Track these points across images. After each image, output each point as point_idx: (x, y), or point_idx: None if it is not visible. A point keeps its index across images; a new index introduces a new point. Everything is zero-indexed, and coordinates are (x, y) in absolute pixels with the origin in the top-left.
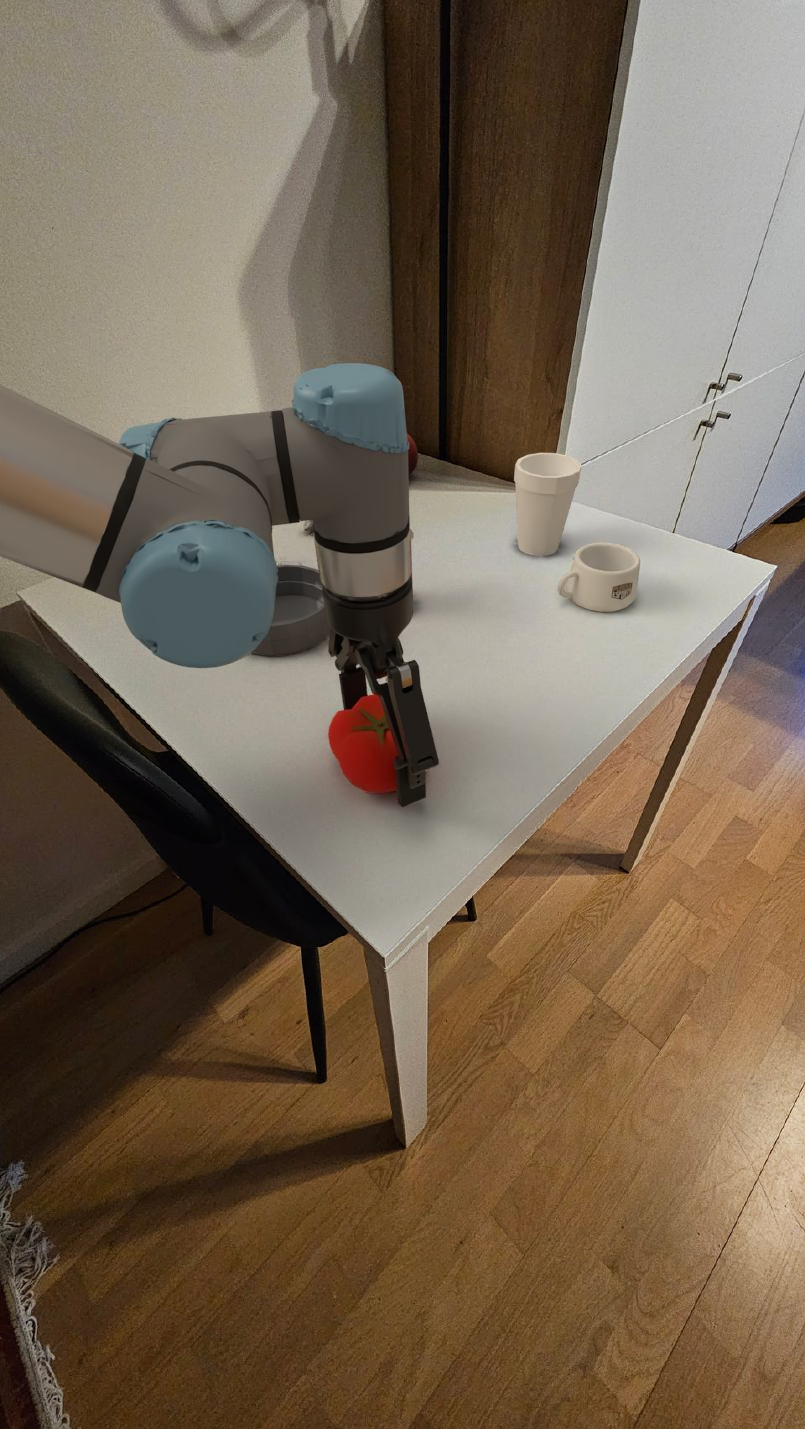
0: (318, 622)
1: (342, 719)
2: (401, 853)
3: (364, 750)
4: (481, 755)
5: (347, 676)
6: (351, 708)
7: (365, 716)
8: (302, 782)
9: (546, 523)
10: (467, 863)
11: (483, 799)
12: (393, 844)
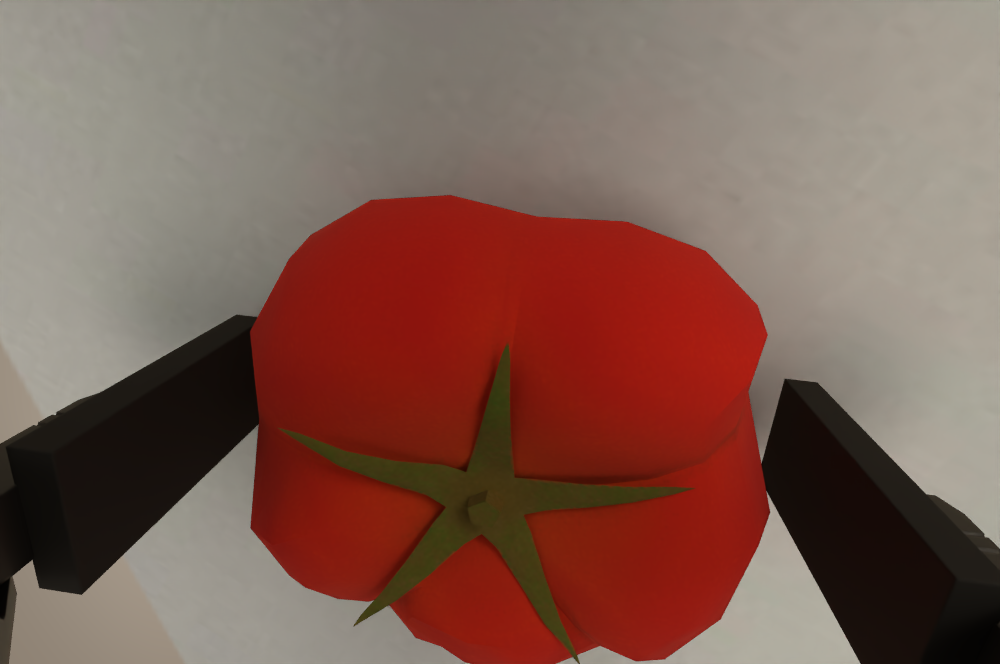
0: None
1: (625, 368)
2: (112, 213)
3: (313, 342)
4: (373, 626)
5: (936, 615)
6: (808, 444)
7: (606, 480)
8: (619, 29)
9: None
10: (19, 363)
11: (216, 531)
12: (156, 209)
